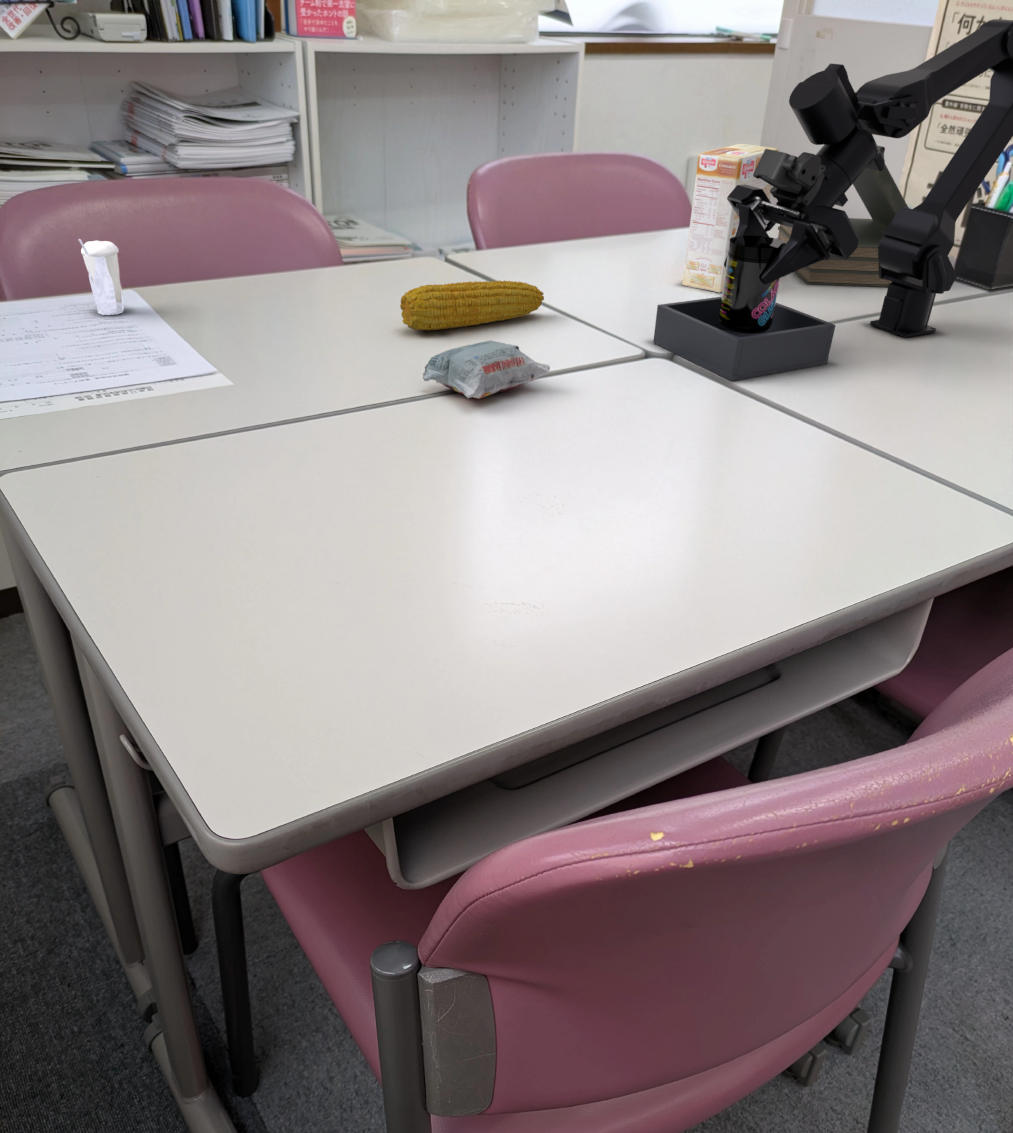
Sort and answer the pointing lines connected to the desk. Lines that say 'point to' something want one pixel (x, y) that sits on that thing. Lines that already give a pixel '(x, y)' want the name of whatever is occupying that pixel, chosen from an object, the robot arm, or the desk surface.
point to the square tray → (742, 340)
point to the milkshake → (104, 275)
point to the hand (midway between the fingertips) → (743, 274)
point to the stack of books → (863, 262)
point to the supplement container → (749, 285)
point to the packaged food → (483, 368)
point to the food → (467, 304)
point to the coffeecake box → (717, 211)
